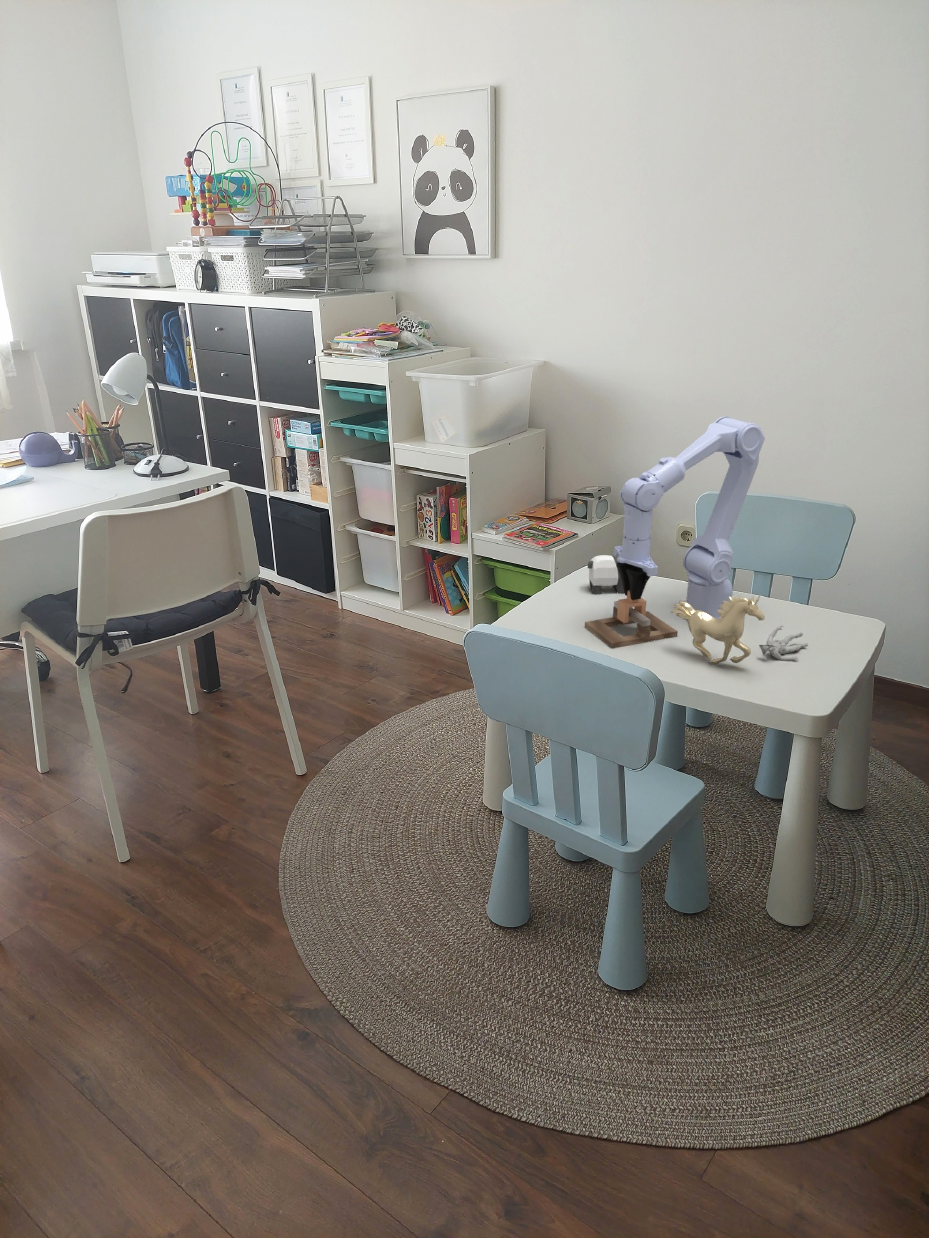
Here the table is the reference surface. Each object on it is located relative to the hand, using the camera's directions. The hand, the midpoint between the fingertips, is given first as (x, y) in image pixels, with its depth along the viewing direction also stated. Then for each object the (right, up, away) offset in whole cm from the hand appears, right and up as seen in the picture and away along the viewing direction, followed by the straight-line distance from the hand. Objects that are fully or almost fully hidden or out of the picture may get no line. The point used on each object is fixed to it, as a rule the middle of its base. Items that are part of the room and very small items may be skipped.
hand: (632, 596), depth 191 cm
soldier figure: (+29, -12, -7) cm, 33 cm away
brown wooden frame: (0, -8, +3) cm, 8 cm away
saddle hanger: (0, -5, +2) cm, 5 cm away
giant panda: (0, +2, +26) cm, 26 cm away
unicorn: (+14, -14, -10) cm, 22 cm away
